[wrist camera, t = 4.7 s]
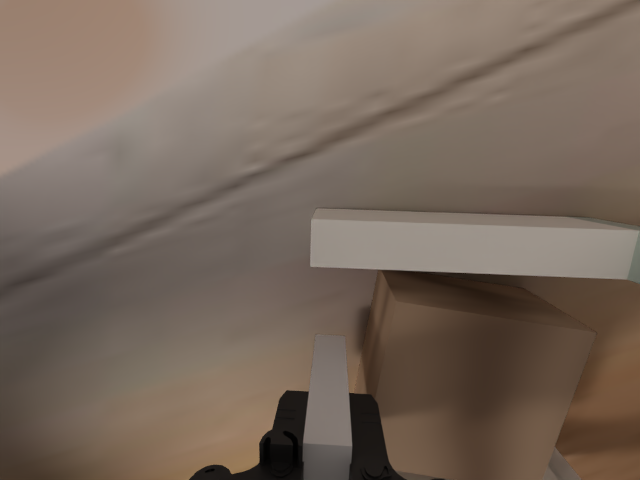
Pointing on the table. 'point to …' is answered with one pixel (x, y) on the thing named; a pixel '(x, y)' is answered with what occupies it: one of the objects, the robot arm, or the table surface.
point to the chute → (477, 253)
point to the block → (469, 375)
